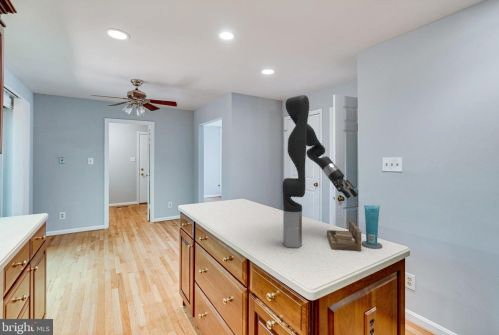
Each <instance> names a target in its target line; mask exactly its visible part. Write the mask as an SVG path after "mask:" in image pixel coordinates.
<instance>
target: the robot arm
mask: <svg viewBox="0 0 499 335" xmlns="http://www.w3.org/2000/svg"><path fill="white" fill-rule="evenodd" d="M285 110H286V112H287V114H288V116H289V118H290V120H292V123H293V124H295V126H294V128H293V129H292V131H291V132H290V134H289V136H288V139H287V154H288V156H289V158H290V160H291V161H292V163H293V164H294V167H295V169H296V172H297V178H296V177H287V178H286V177H285V178H284V179H283V182H282V208H283V209H282V210H283V212H282V213H283V215H282V216H283V217H282V218H283V219H282V221H283V222H282V224H283V225H282V226H283V228H282V229H283V230H282V236H283V237H282V240H283V241H282V244H283V246H285V248H294V249H296V248H297V249H300V247H302V246H303V205H302V204H300V203H299V202H297V201H295V200H293V199H292V198H303V197H304V196H305V194H306V158H309V160H311V161H312V162H314V163H316V165H318V167H319V168H320V169H321V170H322V172H323V173H324V174H325V176H326V177H327V179H328V180H329V181H330V183H331V184H333V186H334V187H335V189H336V190H337V191H338V192H339V193H341V194H343V196H344V197H345V198H346V199H349V198H351V195H352V196H353V198H357V197H358V196H359V194H358V192H357V191H356V190H355V186H354V185H353V184H352V183H351V182H350V181H349V179H346V180H345V174H344V173H343V172H342V171H341V169H340V168H339V166H337V165H336V164H335V163H334V161H332V159H331V158H330V157H329V156H323V155H324V154H325V153H326V148H325V146H324V145H323V144H322V143H321V142H320V140H319V138H318V137H317V135H316V132H315V130H314V128H313V127H312V126H311V125H310V124H308V121H309V113H310V100H309V97H308V96H307V95H306V94H302V95H297V96H292V97H289V98H287V99H286V101H285ZM307 147H310V148H309V149H307ZM306 156H307V157H306ZM322 156H323V157H322ZM349 192H350V193H349Z"/></svg>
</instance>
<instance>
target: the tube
mask: <svg viewBox="0 0 499 335" xmlns="http://www.w3.org/2000/svg"><path fill="white" fill-rule="evenodd" d="M380 206H381V205H371V204H370V205H369V204H367V205H364V206H363V207H364V219H365V241H366V243H367V244H369V245H377V242H378V236H379V235H378V234H379V231H378V230H379V220H380V219H379V216H380V208H381V207H380Z"/></svg>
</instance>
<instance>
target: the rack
mask: <svg viewBox="0 0 499 335" xmlns="http://www.w3.org/2000/svg"><path fill="white" fill-rule="evenodd" d="M336 231H337V230H332V229H331V230H330V229H329V230H327V229H326V236H327V239H328V242H329V245H330V248H331V250H334V251H335V250H336V251H337V250H338V251H351V252H353V251H354V252H362V231H361V230H360V229H359V227H358V225H356V224H355V222H353V220H350V219H349V220H348V230H338V231H339V232H350V233H351V235H352V237H353V238H354V240H355V243H339V242H335V241H334V235H336Z"/></svg>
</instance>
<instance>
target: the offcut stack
mask: <svg viewBox="0 0 499 335" xmlns="http://www.w3.org/2000/svg"><path fill="white" fill-rule="evenodd" d="M335 231H336V235H334V241H335V242H339V243H355V240H354V238H353V237H352V235H351V233H350V232H339V231H340V230H335Z"/></svg>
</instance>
